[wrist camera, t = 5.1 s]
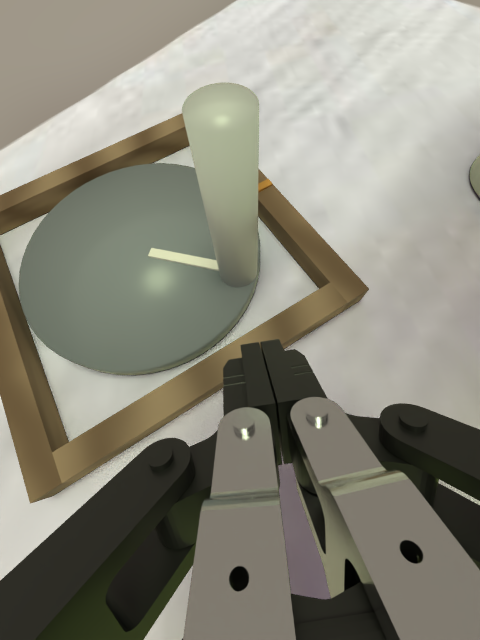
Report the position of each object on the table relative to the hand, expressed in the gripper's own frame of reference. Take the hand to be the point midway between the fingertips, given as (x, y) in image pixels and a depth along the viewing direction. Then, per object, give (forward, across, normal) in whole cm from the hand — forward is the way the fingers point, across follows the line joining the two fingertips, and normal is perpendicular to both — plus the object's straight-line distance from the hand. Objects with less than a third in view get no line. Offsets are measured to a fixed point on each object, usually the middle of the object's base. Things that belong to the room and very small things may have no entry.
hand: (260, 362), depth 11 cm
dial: (+16, +8, -2) cm, 18 cm away
